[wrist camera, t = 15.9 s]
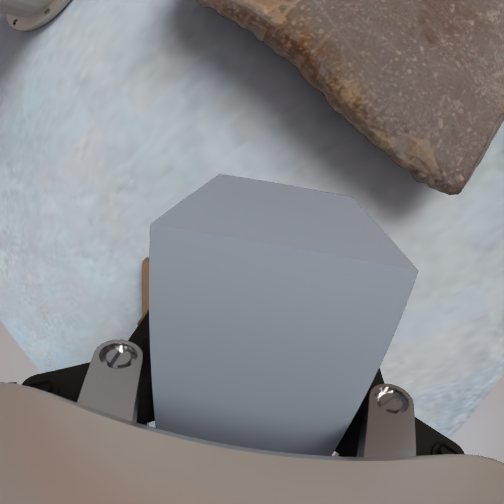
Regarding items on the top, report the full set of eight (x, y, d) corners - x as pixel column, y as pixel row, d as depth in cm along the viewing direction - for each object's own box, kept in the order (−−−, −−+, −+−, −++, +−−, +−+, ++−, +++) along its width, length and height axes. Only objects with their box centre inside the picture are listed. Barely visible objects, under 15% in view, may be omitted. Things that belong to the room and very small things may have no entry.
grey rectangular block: (198, 390, 14) (165, 496, 9) (219, 174, 11) (150, 224, 5) (291, 406, 14) (289, 516, 9) (351, 197, 11) (418, 271, 5)
